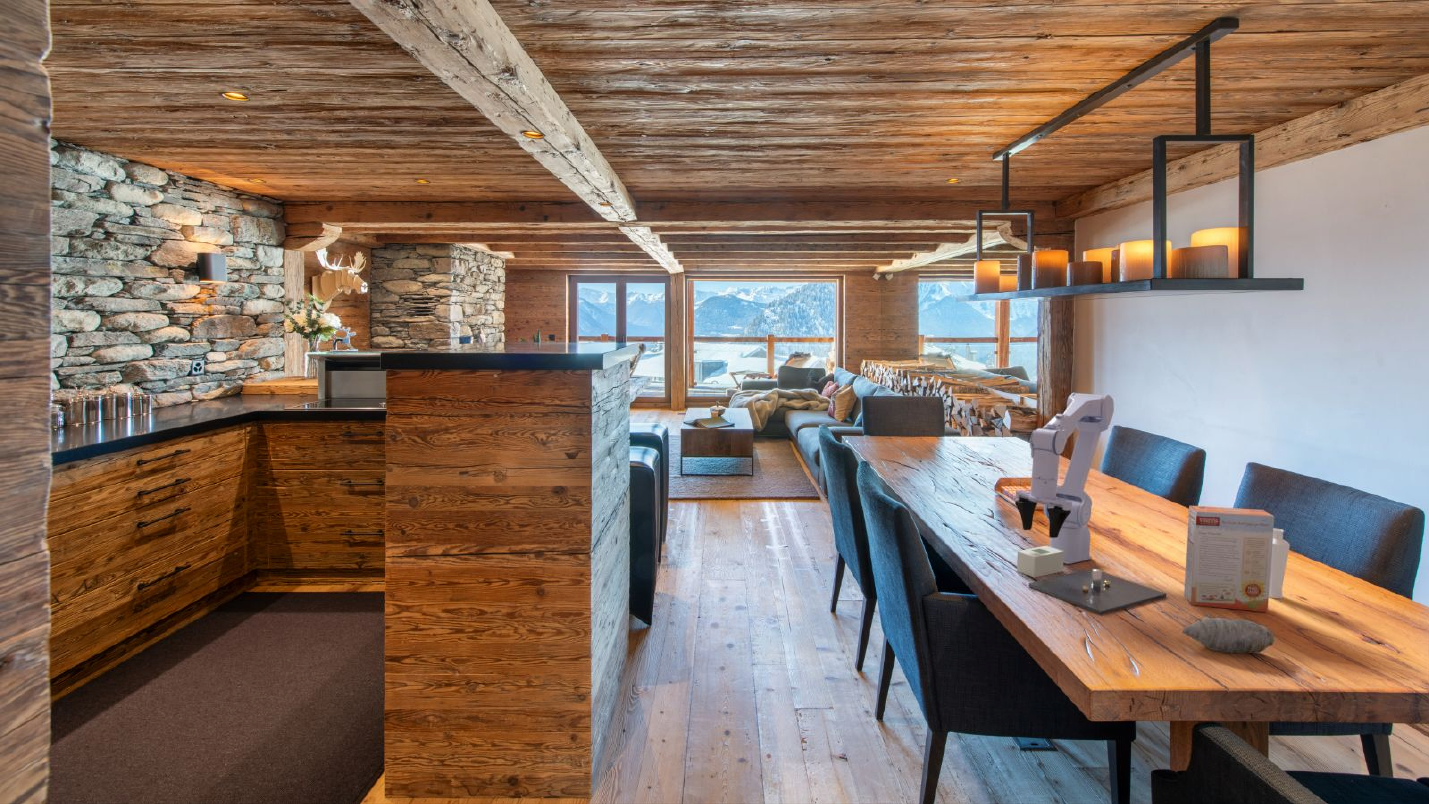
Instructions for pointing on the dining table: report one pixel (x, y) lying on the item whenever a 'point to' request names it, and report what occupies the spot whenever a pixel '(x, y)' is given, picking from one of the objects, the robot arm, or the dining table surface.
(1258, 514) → the cracker box
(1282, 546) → the white plastic bottle
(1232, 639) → the seashell
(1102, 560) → the dining table surface
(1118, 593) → the stand
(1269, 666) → the dining table surface
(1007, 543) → the dining table surface
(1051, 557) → the block with square hole
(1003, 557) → the dining table surface
